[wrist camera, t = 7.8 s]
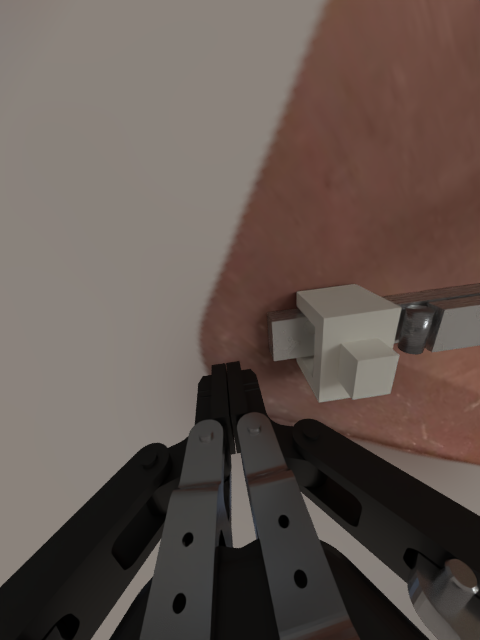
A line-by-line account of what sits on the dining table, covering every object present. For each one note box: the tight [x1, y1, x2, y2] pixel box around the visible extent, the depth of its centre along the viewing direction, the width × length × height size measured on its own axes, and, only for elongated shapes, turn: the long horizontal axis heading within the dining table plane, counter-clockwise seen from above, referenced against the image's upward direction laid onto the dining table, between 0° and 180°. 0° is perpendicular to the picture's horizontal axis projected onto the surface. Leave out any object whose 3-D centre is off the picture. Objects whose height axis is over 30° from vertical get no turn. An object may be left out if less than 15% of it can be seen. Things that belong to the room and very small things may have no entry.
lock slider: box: [296, 284, 402, 402], centre depth 14 cm, size 4×6×6 cm
